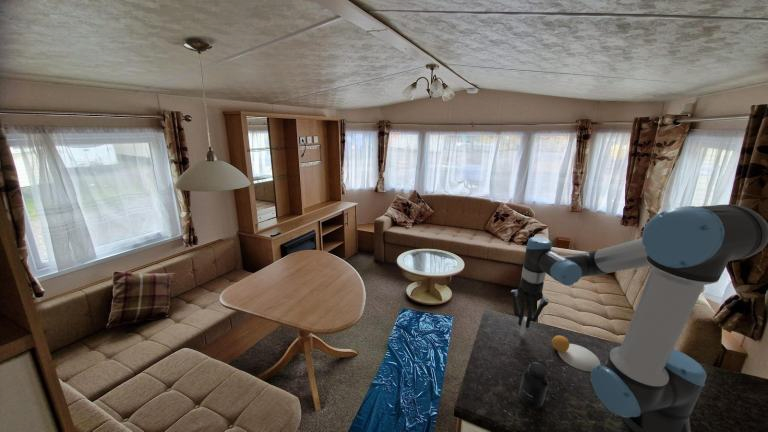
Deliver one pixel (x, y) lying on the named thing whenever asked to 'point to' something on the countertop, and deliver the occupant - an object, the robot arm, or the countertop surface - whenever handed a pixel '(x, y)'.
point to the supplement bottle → (533, 385)
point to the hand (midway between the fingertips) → (522, 332)
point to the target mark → (580, 358)
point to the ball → (560, 343)
